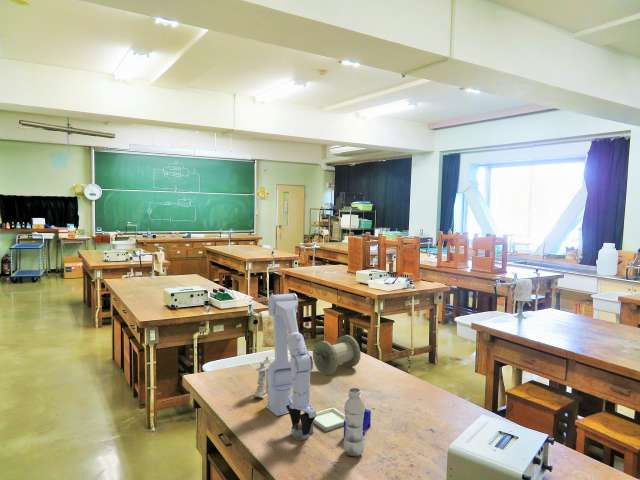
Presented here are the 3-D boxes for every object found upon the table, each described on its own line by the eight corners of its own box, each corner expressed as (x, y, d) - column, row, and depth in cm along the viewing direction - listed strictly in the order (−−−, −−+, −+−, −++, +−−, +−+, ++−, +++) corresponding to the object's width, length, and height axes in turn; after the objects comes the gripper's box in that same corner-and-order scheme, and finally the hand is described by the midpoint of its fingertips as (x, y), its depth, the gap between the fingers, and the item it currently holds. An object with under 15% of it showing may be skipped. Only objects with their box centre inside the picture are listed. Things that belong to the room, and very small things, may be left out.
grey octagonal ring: (288, 434, 148) (288, 425, 147) (307, 428, 152) (307, 419, 152) (297, 442, 143) (298, 433, 143) (316, 435, 147) (316, 426, 147)
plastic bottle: (362, 447, 140) (363, 385, 139) (365, 459, 133) (366, 395, 132) (342, 447, 140) (343, 385, 138) (344, 459, 133) (345, 395, 132)
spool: (335, 379, 196) (335, 345, 195) (312, 369, 207) (313, 338, 206) (360, 370, 207) (360, 338, 206) (337, 361, 218) (338, 332, 217)
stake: (296, 435, 147) (296, 423, 147) (301, 433, 148) (301, 422, 148) (299, 437, 145) (299, 426, 145) (304, 436, 147) (305, 424, 146)
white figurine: (250, 400, 173) (250, 363, 172) (261, 390, 182) (261, 355, 181) (260, 401, 172) (260, 364, 171) (270, 392, 181) (270, 356, 180)
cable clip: (355, 442, 143) (355, 424, 143) (343, 438, 146) (344, 420, 146) (374, 428, 153) (374, 411, 152) (363, 424, 156) (363, 407, 155)
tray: (308, 418, 159) (308, 414, 159) (333, 411, 165) (333, 407, 165) (326, 431, 150) (326, 427, 150) (351, 423, 156) (351, 419, 156)
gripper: (279, 385, 149) (279, 424, 150) (302, 401, 138) (302, 443, 139) (297, 381, 153) (297, 418, 154) (321, 395, 142) (320, 436, 143)
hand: (300, 430), depth 147 cm, fingers closed on grey octagonal ring, 6 cm apart
